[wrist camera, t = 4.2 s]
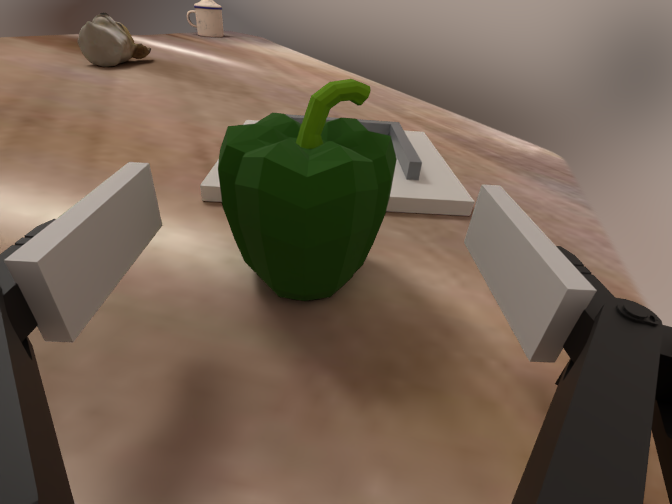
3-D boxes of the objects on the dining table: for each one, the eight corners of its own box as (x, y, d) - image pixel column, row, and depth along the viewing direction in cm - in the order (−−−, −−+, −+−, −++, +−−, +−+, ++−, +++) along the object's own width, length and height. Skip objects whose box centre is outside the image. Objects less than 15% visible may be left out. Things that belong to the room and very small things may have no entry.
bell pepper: (213, 321, 18) (179, 93, 12) (242, 231, 24) (229, 60, 19) (391, 325, 18) (436, 109, 13) (370, 236, 25) (394, 71, 19)
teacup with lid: (226, 36, 137) (223, -3, 130) (222, 38, 129) (218, -3, 123) (192, 33, 136) (187, -6, 129) (185, 35, 128) (180, -6, 122)
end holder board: (202, 200, 28) (197, 165, 26) (247, 130, 42) (245, 105, 41) (470, 215, 28) (480, 182, 27) (421, 142, 44) (426, 118, 42)
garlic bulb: (51, 7, 62) (93, 12, 75) (65, 65, 67) (103, 60, 80) (119, 13, 64) (149, 16, 76) (129, 70, 68) (156, 64, 81)
